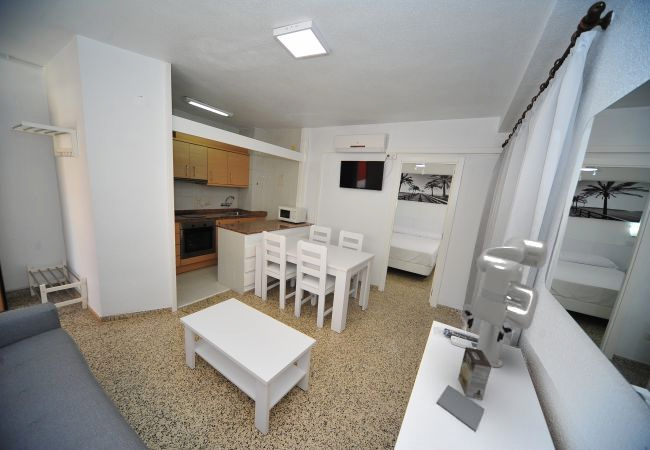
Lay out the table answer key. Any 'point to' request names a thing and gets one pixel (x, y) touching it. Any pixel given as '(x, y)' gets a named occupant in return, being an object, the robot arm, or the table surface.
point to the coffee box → (474, 373)
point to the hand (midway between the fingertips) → (483, 333)
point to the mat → (461, 407)
